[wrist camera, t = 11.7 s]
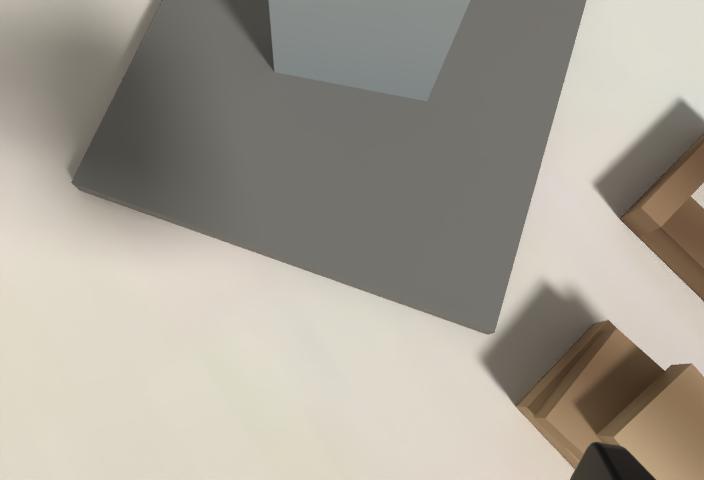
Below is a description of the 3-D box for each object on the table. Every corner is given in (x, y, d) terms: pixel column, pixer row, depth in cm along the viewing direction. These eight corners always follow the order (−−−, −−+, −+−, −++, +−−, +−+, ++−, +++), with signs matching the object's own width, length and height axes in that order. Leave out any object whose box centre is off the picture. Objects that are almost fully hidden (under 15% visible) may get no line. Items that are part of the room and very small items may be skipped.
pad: (78, 189, 22) (71, 182, 22) (239, -136, 27) (238, -152, 26) (487, 334, 22) (494, 332, 22) (584, -14, 26) (593, -27, 26)
